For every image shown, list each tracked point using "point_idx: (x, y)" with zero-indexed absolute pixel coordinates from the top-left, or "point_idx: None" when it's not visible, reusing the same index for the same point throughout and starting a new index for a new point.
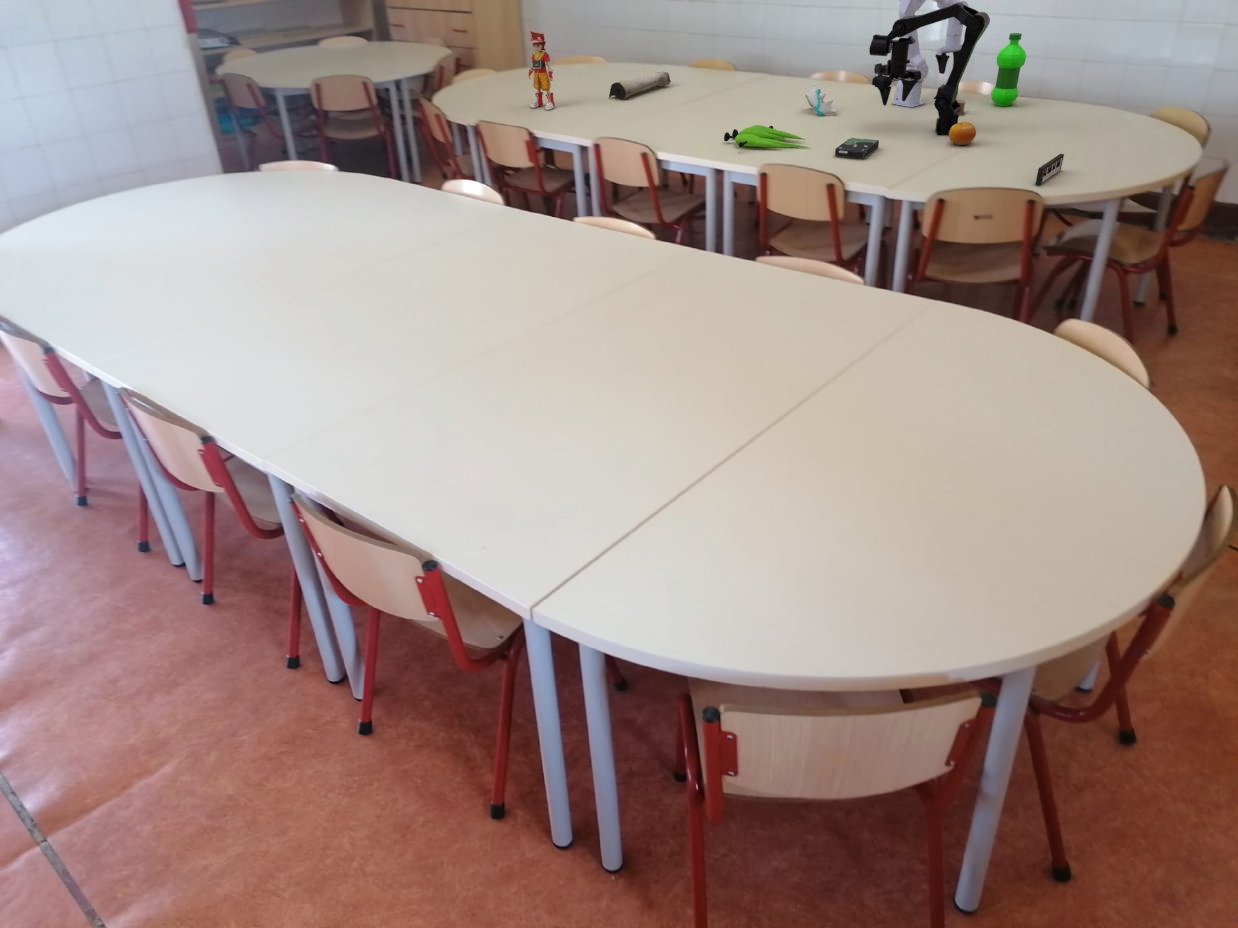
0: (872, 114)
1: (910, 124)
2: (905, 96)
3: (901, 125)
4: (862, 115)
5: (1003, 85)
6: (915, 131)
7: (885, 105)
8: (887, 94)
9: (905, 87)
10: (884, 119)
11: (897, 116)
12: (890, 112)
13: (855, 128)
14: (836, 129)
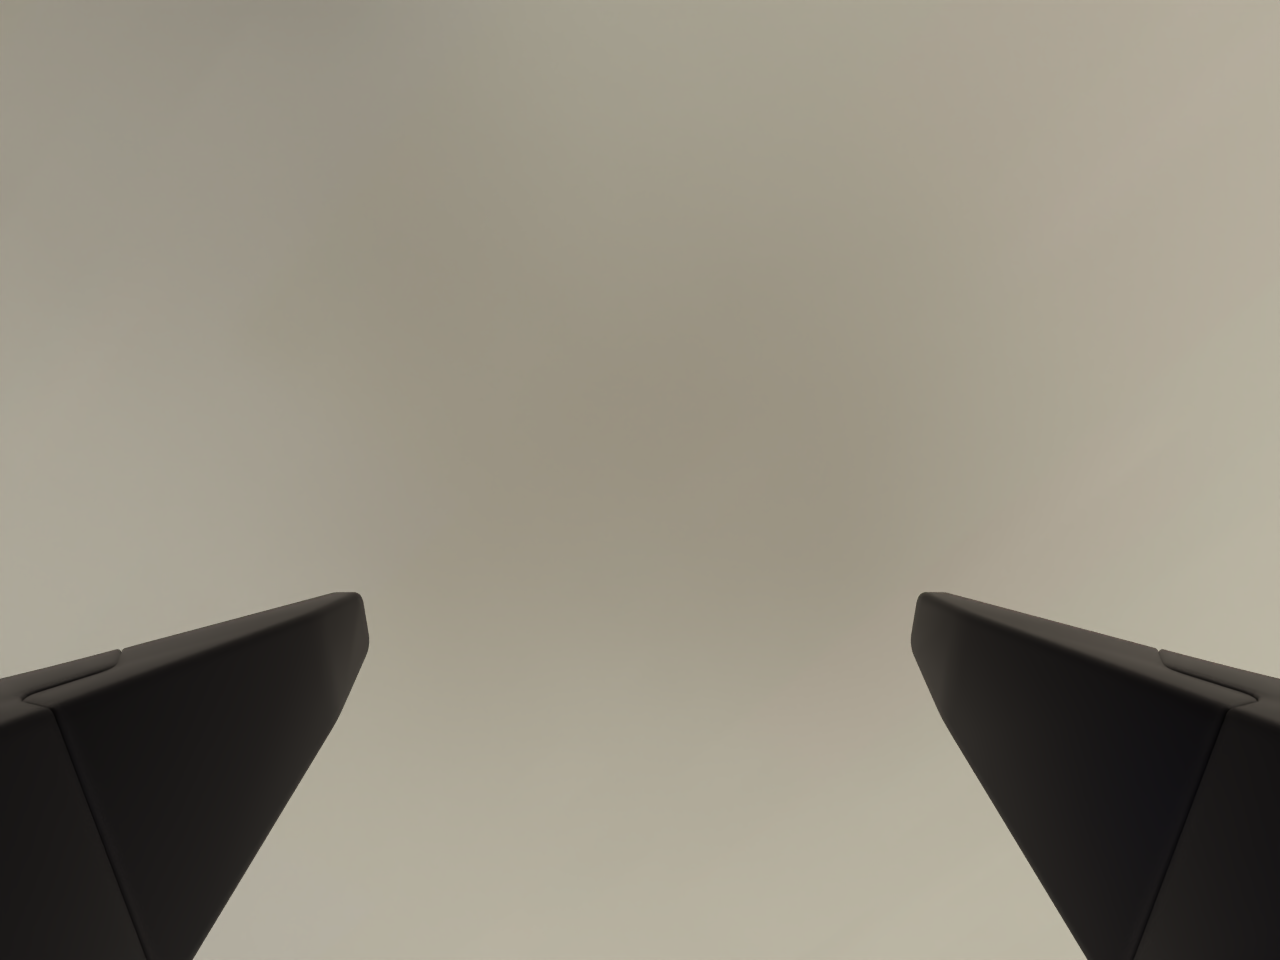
0: (418, 922)
1: (326, 401)
2: (302, 641)
3: (457, 441)
4: (523, 948)
5: None
6: (513, 56)
7: (929, 599)
8: (1250, 688)
9: (149, 888)
10: (444, 741)
11: None
12: None
13: None
14: None
